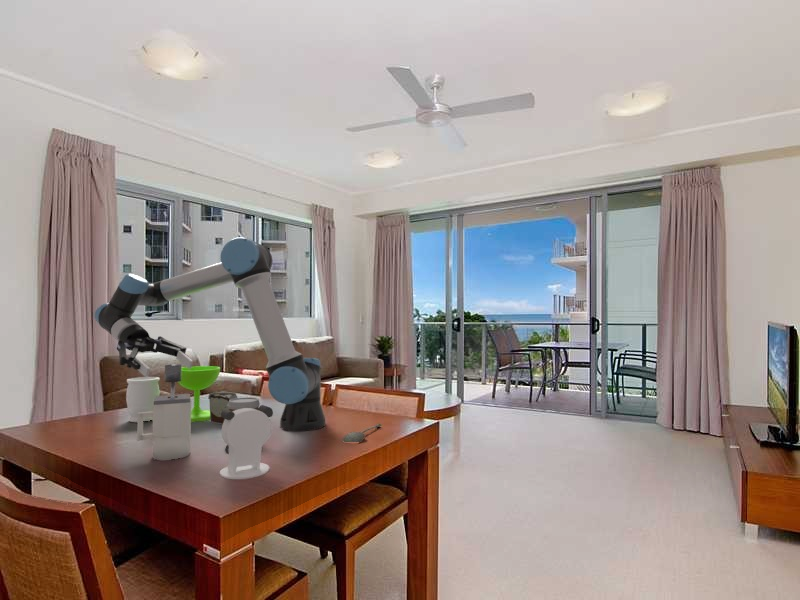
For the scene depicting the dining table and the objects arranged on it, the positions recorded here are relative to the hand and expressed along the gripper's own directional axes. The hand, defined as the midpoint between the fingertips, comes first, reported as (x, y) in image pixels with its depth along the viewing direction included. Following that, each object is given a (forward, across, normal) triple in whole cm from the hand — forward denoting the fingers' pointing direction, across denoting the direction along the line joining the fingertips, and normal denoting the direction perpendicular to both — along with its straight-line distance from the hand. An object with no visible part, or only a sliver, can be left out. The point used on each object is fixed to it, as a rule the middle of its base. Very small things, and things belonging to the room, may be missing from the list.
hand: (170, 368), depth 136 cm
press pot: (+17, +9, -15) cm, 25 cm away
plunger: (+15, +7, -9) cm, 19 cm away
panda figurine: (+43, +6, -3) cm, 43 cm away
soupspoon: (+50, -36, -3) cm, 62 cm away
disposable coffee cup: (+23, -13, -14) cm, 30 cm away
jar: (-23, -14, -38) cm, 47 cm away
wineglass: (-12, -27, -33) cm, 44 cm away
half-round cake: (+2, -27, -26) cm, 38 cm away
